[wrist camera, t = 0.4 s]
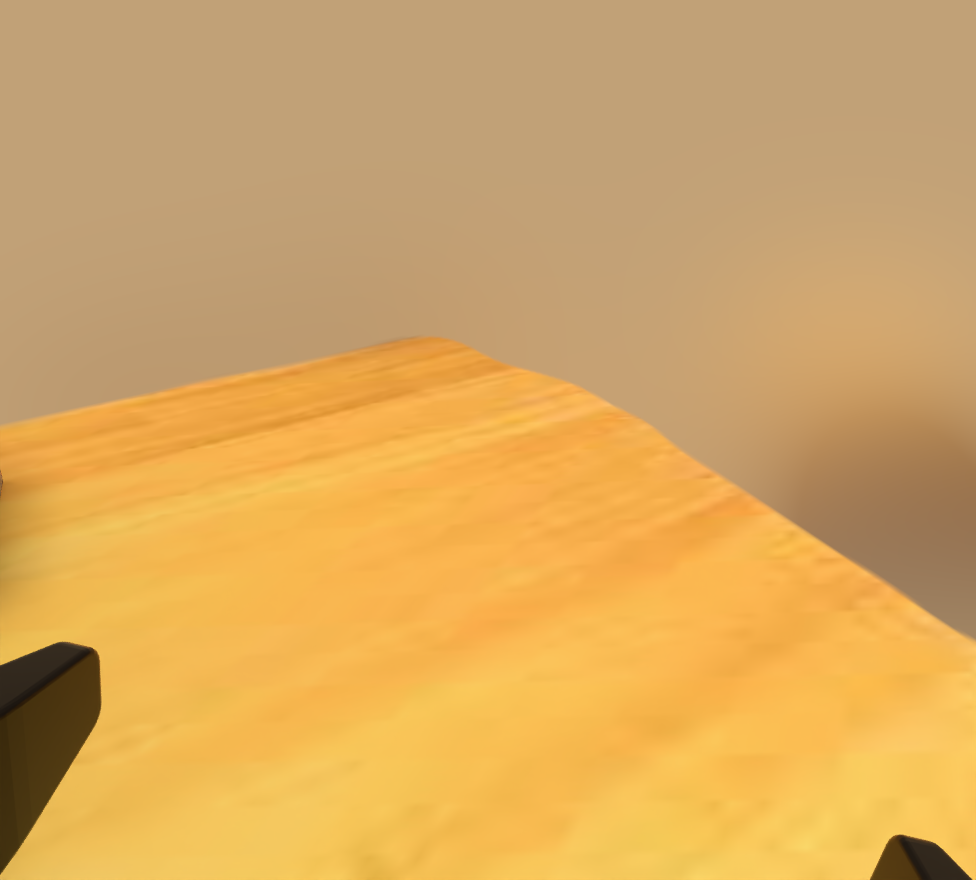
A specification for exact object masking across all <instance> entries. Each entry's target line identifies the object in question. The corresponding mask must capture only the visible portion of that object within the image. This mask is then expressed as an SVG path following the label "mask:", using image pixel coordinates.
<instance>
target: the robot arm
mask: <svg viewBox="0 0 976 880" xmlns="http://www.w3.org/2000/svg"><path fill="white" fill-rule="evenodd" d="M100 710H101V681H100V660H99V655H98V653H97V651H96V650H94V649H93V648H91V647H87V646H83V645H78V644H74V643H70V642H58V643H56V644H53V645H50V646H48V647H45V648H43V649H40V650H38V651H35V652H33V653H30V654H28V655H25V656H23V657H20V658H18V659H15V660H13V661H10V662H8V663H5V664H3V665H0V874H1V873H2V872H3V870H4V869H5V868H6V866H7V865H8V863H9V862H10V861H11V859H12V858H13V856H14V855H15V854H16V852H17V851H18V849H19V848H20V846H21V845H22V843H23V842H24V840H25V839H26V837H27V836H28V834H29V833H30V831H31V830H32V828H33V826H34V825H35V823H36V821H37V820H38V818H39V817H40V815H41V813H42V812H43V810H44V808H45V807H46V805H47V803H48V802H49V800H50V799H51V797H52V795H53V794H54V792H55V790H56V789H57V787H58V785H59V784H60V782H61V780H62V779H63V777H64V776H65V774H66V772H67V771H68V769H69V767H70V766H71V764H72V762H73V761H74V759H75V758H76V756H77V754H78V753H79V751H80V749H81V748H82V746H83V744H84V743H85V741H86V740H87V738H88V736H89V735H90V733H91V731H92V730H93V728H94V726H95V724H96V722H97V720H98V717H99V714H100ZM870 880H972V879H971V878H970V877H969V876H968V875H967V874H966V873H965V872H964V871H963V870H962V869H961V868H960V867H959V866H958V865H957V864H956V862H955V861H954V860H953V859H952V858H951V857H950V856H949V855H948V854H947V853H946V852H945V851H944V850H943V849H942V848H940V847H939V846H938V845H937V844H935V843H933V842H930V841H927V840H923V839H918V838H914V837H910V836H905V835H895V836H893V837H892V838H891V839H890V840H889V841H888V843H887V844H886V847H885V849H884V851H883V853H882V855H881V857H880V859H879V861H878V864H877V866H876V868H875V870H874V872H873V874H872V876H871V878H870Z"/></svg>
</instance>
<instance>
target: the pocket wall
mask: <svg viewBox="0 0 976 880" xmlns="http://www.w3.org/2000/svg"><path fill="white" fill-rule="evenodd" d="M2 482H3V479H2V475H1V471H0V494H1V488H2Z"/></svg>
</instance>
